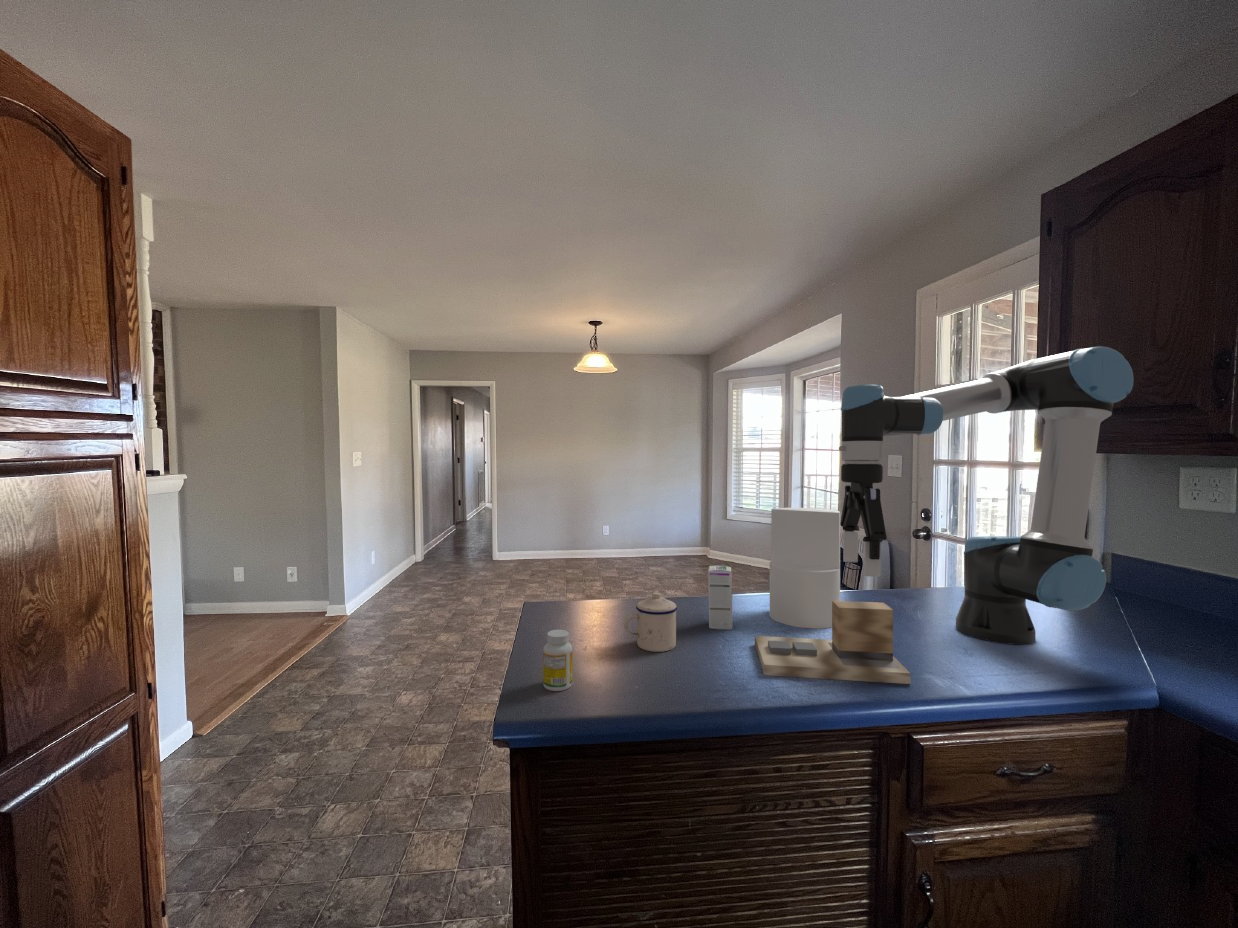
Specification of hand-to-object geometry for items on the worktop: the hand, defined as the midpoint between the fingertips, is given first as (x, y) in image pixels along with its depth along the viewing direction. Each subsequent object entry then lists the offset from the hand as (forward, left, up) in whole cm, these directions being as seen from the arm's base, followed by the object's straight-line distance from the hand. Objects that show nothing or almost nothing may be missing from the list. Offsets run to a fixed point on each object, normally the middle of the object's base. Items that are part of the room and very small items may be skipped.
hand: (860, 568), depth 101 cm
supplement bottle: (+58, +18, -20) cm, 64 cm away
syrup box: (+27, -20, -20) cm, 39 cm away
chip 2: (+11, 0, -17) cm, 20 cm away
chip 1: (+16, 0, -17) cm, 24 cm away
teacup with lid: (+43, -4, -20) cm, 47 cm away
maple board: (+7, 0, -19) cm, 21 cm away
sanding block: (0, 0, -17) cm, 17 cm away
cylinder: (+5, -30, -20) cm, 36 cm away
